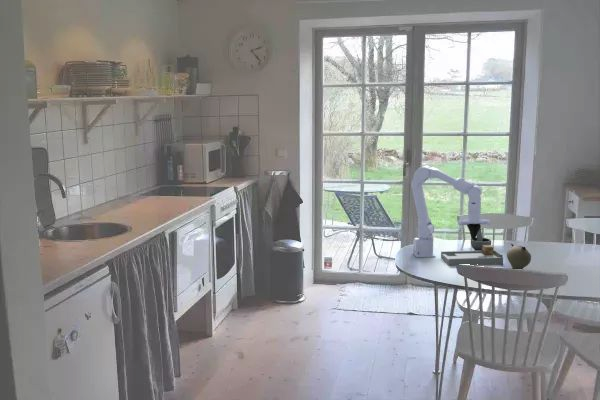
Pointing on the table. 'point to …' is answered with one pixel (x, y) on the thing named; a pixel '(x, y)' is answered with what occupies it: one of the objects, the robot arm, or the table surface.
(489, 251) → the block
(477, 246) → the mortar and pestle
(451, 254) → the trap lane
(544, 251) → the table surface
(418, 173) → the robot arm
